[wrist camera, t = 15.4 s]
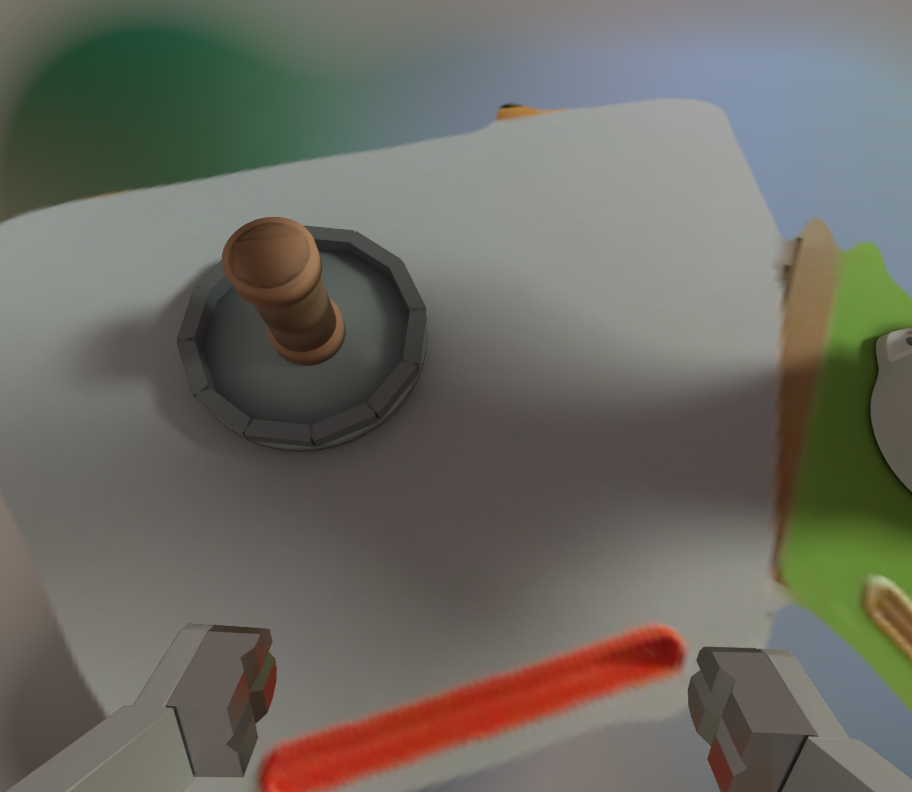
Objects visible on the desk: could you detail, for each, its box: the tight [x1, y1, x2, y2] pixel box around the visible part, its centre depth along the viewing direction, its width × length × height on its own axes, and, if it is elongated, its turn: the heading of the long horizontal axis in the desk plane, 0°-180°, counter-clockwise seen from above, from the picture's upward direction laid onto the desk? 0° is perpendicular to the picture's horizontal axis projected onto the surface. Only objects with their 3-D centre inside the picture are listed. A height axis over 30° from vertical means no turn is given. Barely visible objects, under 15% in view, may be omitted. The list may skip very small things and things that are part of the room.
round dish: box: [177, 225, 427, 451], centre depth 40 cm, size 18×18×2 cm
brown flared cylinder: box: [222, 217, 346, 366], centre depth 36 cm, size 6×6×10 cm
